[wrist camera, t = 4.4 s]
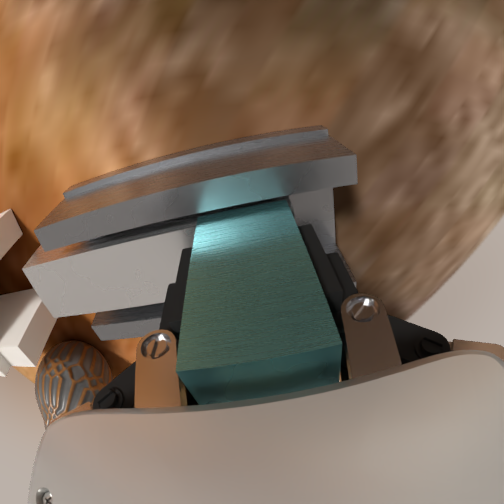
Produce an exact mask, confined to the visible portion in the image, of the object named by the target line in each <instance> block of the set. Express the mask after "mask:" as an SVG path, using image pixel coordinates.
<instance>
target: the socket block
mask: <svg viewBox="0 0 504 504" xmlns="http://www.w3.org/2000/svg"><path fill="white" fill-rule="evenodd" d="M22 234H23V233H22V231H21V229H20V227H19V225H18V223H17V221H16V219H15V217H14V214H13V212H12V210H11V209H9V210H7V211H5V212H3V213H1V214H0V260H1V259H2V257H3V256H4V255H5V254H6V253H7V251H8V250H9V249H10V248H11V247H12V246H13V245H14V243H15V242H16V241H17V240H18V239H19V238H20V237H21V236H22ZM56 320H57V318H54V317H53V316H52V315H51V313H50V312H49V310H48V309H47V307H46V306H45V305H44V303H43V302H42V300H41V299H40V297H39V296H38V294H37V293H36V291H35V289H34V288H33V289H28V290H23V291H18V292H14V293H9V294H4V295H0V376H4V377H6V376H7V373H8V371H9V369H10V367H11V366H25V367H36V365H37V363H38V361H39V358H40V356H41V353H42V351H43V349H44V347H45V344H46V342H47V340H48V338H49V335H50V333H51V331H52V329H53V327H54V325H55V323H56Z"/></svg>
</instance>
